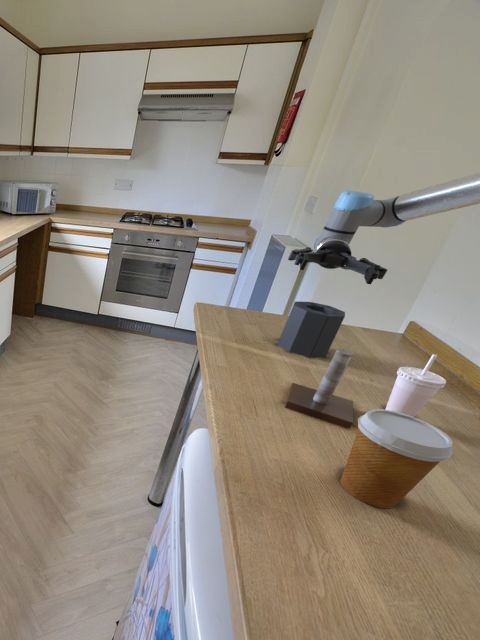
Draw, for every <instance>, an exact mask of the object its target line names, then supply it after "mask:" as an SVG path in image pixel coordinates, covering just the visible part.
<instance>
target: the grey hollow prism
mask: <svg viewBox="0 0 480 640" xmlns="http://www.w3.org/2000/svg"><path fill="white" fill-rule="evenodd" d="M345 317H346V311H343V310H341V309H340V308H337V307H334V306H331V305H328V304H323V303H317V302H314V301H294V303H293V305H292V308H291V310H290V312H289V314H288V318H287V320H286V322H285V325H284V327H283V329H282V331H281V334H280V336H279V339H278V342H277V343H276V344H277V346H278V347H280V348H282V349H284V350H285V351H287V352H289V353H292V354H296V355H299V356H303V357H306V358H314V359H315V358H323V359H324V358H327V354H328V352H329V351H330V349H331V347H332V344H333V342H334V340H335V338H336V336H337V334H338V332H339V330H340V328H341V325H342V323H343V321H344V319H345Z"/></svg>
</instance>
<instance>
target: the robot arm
mask: <svg viewBox="0 0 480 640" xmlns="http://www.w3.org/2000/svg"><path fill="white" fill-rule="evenodd" d="M475 205H480V172H476V173H473V174H468V175H466V176H463V177H459V178H456V179H453V180H448V181H446V182H442V183H438V184H435V185H432V186H428V187H424V188H421V189H418V190H414V191H411V192H408V193H407V192H406V193H404V194H401V195H397V196H393V197H390V198H386V199H375V195H374V194H373V193H369V192H364V191H355V190H345V191H343V192H342V193H340V195H339V197H338V199H337V201H336V202H335V203H334V205H333V208H332V211H331V212H330V214H329V216H328V219H327V221H326V223H325V224H324V226H323V228H322V230H321V232H320V234H319V236H318V237H317V238H316V239H315V242H314V244H313V246H314V247H313V249H314V250H313V249H312V248H311V247H309V246H308V247H307V246H306V247H305V248H301V249H294V250H293V249H292V250H291V252H290V253H289V255H288V258H287V260H288V261H289V262H290V261H291V262H292V261H294V263H293V265H295V266H299V270H300V271H304V270H305V268H306V265H307V264H309V263H314V264H317V265H318V266H319V267H322V268H323V269H327V270H335V269H339V268H340V269H342V270H345V271H346V270H349V271H353V272H355V273H358V274H361V275H362V276H363V278H364V281H365V283H366V285H372V283H373V282H374V280H377V279H378V280H383V278H384V277H385V276H386V274H387V272H388V269H387V268H386V267H383V266H381V265H380V264H377V263H375V262H372V261H370V260H369V259H368V258H366V257H361V258H360V259H357V257H356V256H353V255H352V250H351V247H350V243H351V241H352V240H353V237H354V236H355V234H356V233H357V231H358V229H359V227H373V228H391V227H399V226H400V225H403V224H404V223H406V222H407V221H411V220H415V219H420V218H425V217H429V216H433V215H437V214H442V213H446V212H450V211H455V210H459V209H463V208H467V207H472V206H475Z"/></svg>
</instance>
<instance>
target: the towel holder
mask: <svg viewBox="0 0 480 640" xmlns="http://www.w3.org/2000/svg"><path fill="white" fill-rule="evenodd" d="M353 356H354V353H353V352H352V351H349V350H347V349H341V348H338V349H336V350H335V352H334V355H333V357H332V358H331V361H330V363H329V365H328V367H327V369H326V371H325V373H324V375H323V377H322V379H321V382H320V383H319V385H318V388H317V389H314V388H311V387H308V386H305V385H301V384H298V383H295V382H291V384H290V387H289V390H288V394H287V397H286V401H285V404H284V408H285V409H289V410H291V411H294V412H298V413H300V414H302V415H305V416H309V417H313V418H315V419H318V420H320V421H324V422H327V423H329V424H333V425H336V426H338V427H342V428H345V429H348V430H350V429H351V428H352V426H353V424H354V401H353V400H351V399H347V398H344V397H341V396H337V395H334V393H335V391H336V390H337V387H338V385H339V384H340V382H341V379H342V377H343V375H344V373H345V371H346V369H347V367H348V365H349V364H350V361H351V360H352V359H353Z"/></svg>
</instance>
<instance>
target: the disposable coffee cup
mask: <svg viewBox="0 0 480 640" xmlns="http://www.w3.org/2000/svg"><path fill="white" fill-rule="evenodd" d="M357 423H358V424H357V426H358V429H357V432H356V435H355V438H354V440H353V443H352V445H351V450H350V452H349V454H348V458H347V460H346V463H345V467H344V470H343V472H342V475H341V478H340V479H339V480H340V481H339V482H340V485H341V487H342V488H343V489H344V491H346V492H347V493H348V494H350V495H351V496H352V497H354V498H355V499H357V500H359V501H361V502H363V503H365V504H367V505H369V506H373V507H376V508H379V509H393V508H395V507H396V506H397V505H398V504H399V503H400V502H401V501H402V500H403V499H404V498H405V497H406V496H407V495H408V494H409V493H410V491H412V490H413V489H414V488H415V487H416V486H417V485H418V484H419V483H420V482H421V481H422V480H424V479H425V477H426V476H427V475H428V474H430V472H432V471H433V469H435V467H436V466H438V465H439V463H440V462H443V461H445V460H448V459H449V458H451V457H452V456H453V454H454V451H453V445H454V442H453V439H452V438H451V437H450V436H449V435H448V434H447V433H445V432H444V431H442V430H441V429H440V428H438V427H436V426H435V425H432V424H431V423H429V422H426V421H425V420H422V419H419V418H418V417H412V416H409V415H406V414H403V413H399V412H395V411H390V410H385V409H381V408H374V409H370V410H368V411H367V412H366V413H365V414H363V415H360V416H359V417H358V418H357Z"/></svg>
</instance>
